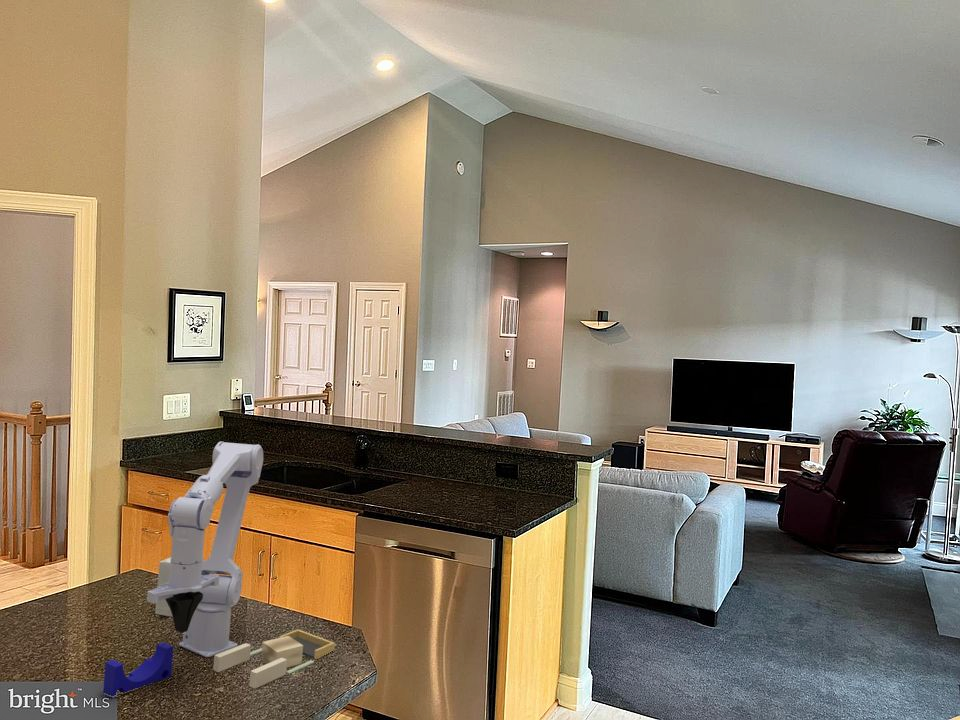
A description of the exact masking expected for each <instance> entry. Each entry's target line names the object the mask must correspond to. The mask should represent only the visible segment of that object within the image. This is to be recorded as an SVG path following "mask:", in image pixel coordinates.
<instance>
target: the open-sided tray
mask: <svg viewBox="0 0 960 720" xmlns="http://www.w3.org/2000/svg"><path fill="white" fill-rule="evenodd" d="M286 636H290V637H291V638H293V639H294V640H296V641H297V642H299V643H300V644H302V645H303V654H302V655H303V656H306V657H309V658H312V659H315V660H317V659H319V658H322V657H325V656H327V655H328V653H329V654H331V653H332V652H331V651H333V650H334V651H335V646H336V643H335V642H333V641H331V640H328V639H325V638H323V637H321V636H318V635H314V634H311V633H309V632H306V631H304V630H301V629H294V630H292V631H290V632H288V633H284V634H282V635H280V636H279V637H278V638H281V637H286ZM334 651H333V652H334ZM330 652H331V653H330ZM326 654H327V655H326ZM324 655H325V656H324Z"/></svg>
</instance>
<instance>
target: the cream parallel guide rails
mask: <svg viewBox="0 0 960 720" xmlns="http://www.w3.org/2000/svg"><path fill="white" fill-rule="evenodd" d="M251 648H252V645H251V644H249V643H247V642H244V643H242V644H240V645H237V647H234V648H231V649H229V650H226V651H224V652H221V653H218V654H216V655H213V656H214V657H213V667H212V668H213V669H212V670H213V671H215V672H217V673H220V672H222V671H225V670H228V669H229V668H232V667H235V666H237V665H240V664H242V663H244V662H247V661H249V660H251V656H250V652H252V651H251V650H252V649H251ZM286 666H287V659H284V658H280V659H277V660H275V661H273V662H270V663H268V664H266V663H265V664H263V665H261V666H258V667H256V668H253V669H252V670H250V675H249V687H250V688H251V689H252V688H253V689H258V688H259V687H261V686H264V685H266V684H268V683H271V682H272V681H275V680H276V679H280V678H282V677H284V676H286V674H287V673H286V671H287V668H286Z"/></svg>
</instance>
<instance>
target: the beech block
mask: <svg viewBox="0 0 960 720" xmlns="http://www.w3.org/2000/svg"><path fill="white" fill-rule="evenodd" d="M261 648H262V652H261V661H262V662H263V663H264V664H265V665H266V664H268V663H270V662H273V661H275V660H277V659H280V658H284V659H287V666H286V669H287V668H291V667H294V666H295V667H296V666H299V665H301V664H303V655H304V654H303V645H302V644H300V643H299V642H297V641H296V640H294V639H293V638H291V637H290V636H286V637H281V638H279V637H278V638H273V639H271V640H270V639H269V640H265V641H262V646H261Z"/></svg>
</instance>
